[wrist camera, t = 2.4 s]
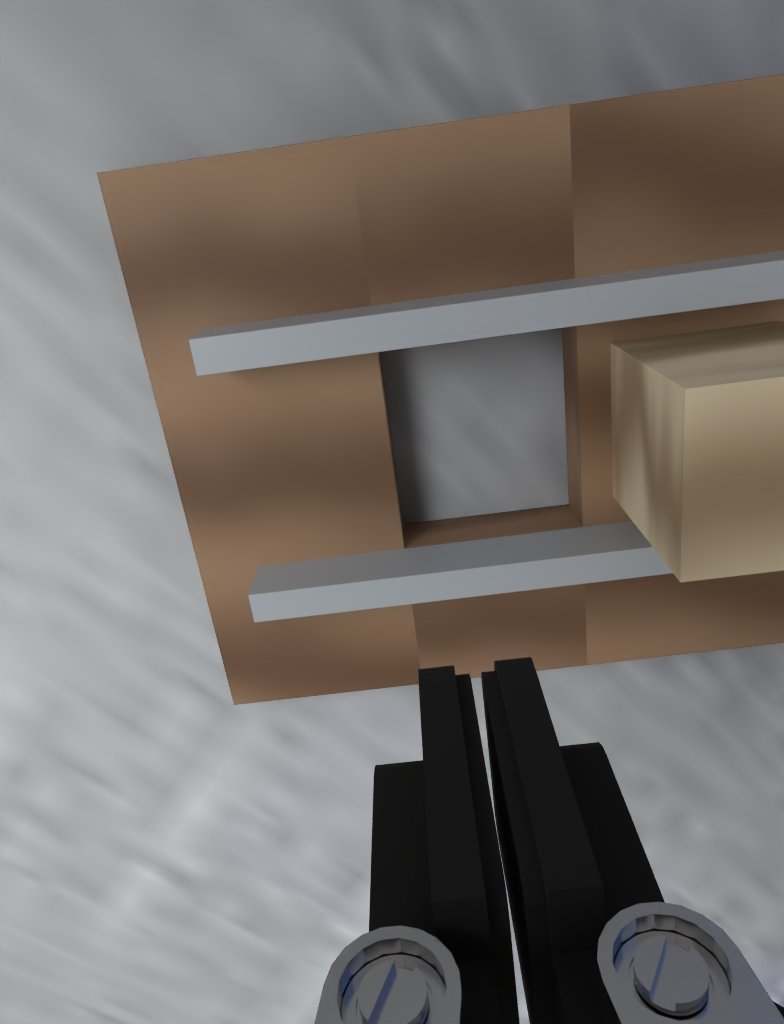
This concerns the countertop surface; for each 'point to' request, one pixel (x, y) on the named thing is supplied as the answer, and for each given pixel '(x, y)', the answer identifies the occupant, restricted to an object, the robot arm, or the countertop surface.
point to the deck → (359, 379)
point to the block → (703, 447)
